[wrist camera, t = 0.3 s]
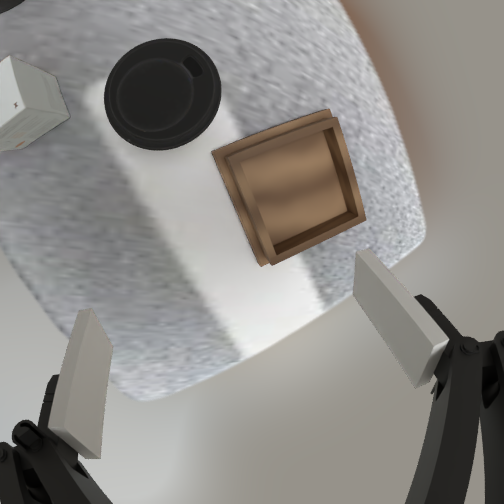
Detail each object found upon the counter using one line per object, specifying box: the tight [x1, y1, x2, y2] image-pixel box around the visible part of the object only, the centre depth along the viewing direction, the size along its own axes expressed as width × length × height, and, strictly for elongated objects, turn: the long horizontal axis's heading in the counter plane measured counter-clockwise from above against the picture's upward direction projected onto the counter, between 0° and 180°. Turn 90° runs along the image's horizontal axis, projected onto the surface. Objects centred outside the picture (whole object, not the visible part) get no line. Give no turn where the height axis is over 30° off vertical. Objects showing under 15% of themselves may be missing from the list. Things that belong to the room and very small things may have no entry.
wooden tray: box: [211, 109, 366, 267], centre depth 38 cm, size 16×16×4 cm
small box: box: [0, 55, 70, 151], centre depth 23 cm, size 8×6×13 cm
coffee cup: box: [104, 38, 221, 150], centre depth 27 cm, size 9×9×15 cm
